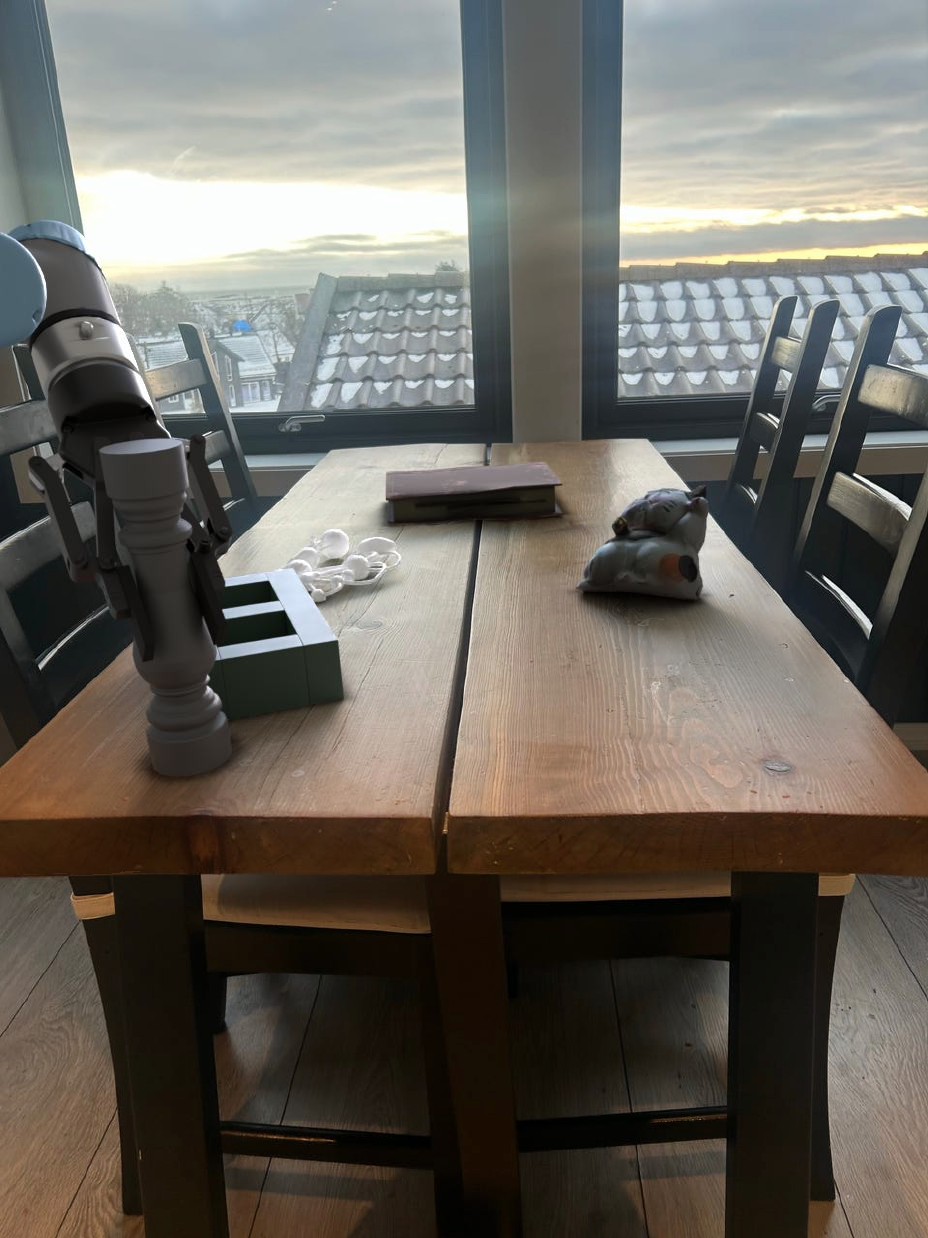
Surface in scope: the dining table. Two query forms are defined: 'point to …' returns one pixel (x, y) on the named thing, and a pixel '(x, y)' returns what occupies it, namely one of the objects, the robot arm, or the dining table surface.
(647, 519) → the lucky cat figurine
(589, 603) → the dining table surface
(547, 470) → the diary
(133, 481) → the candle holder
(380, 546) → the tangled rod sculpture
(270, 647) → the rack
